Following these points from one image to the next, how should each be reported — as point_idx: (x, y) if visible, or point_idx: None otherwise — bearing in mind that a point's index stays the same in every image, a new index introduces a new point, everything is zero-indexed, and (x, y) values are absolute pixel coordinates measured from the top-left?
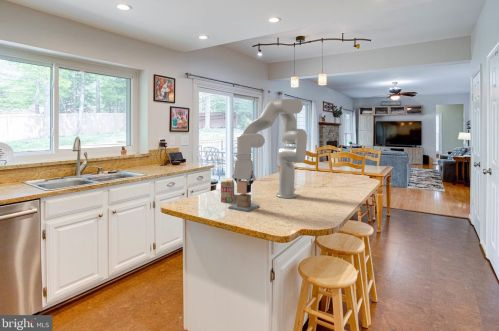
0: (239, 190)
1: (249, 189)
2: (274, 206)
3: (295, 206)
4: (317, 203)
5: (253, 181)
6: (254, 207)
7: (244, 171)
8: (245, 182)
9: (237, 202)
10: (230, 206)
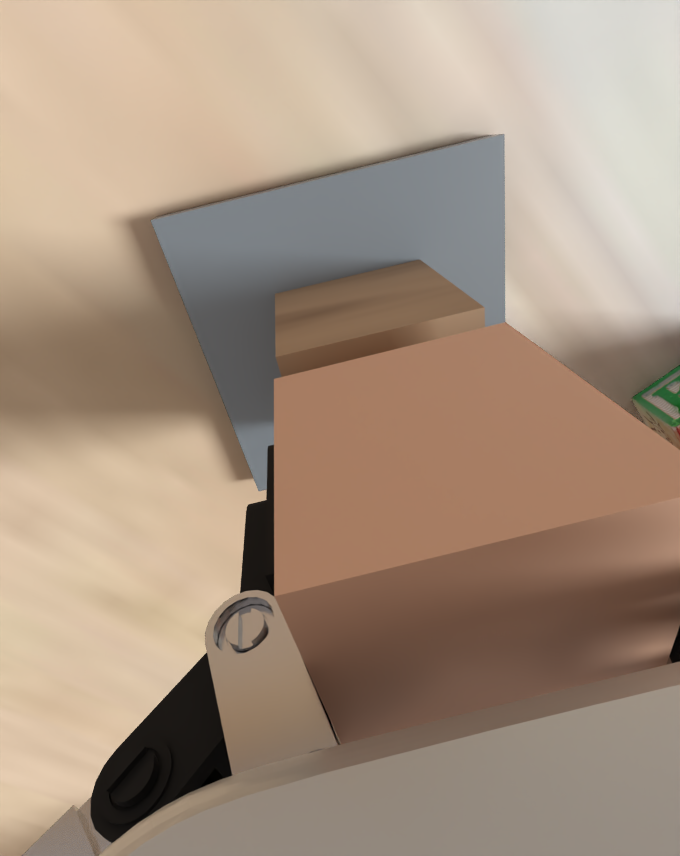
0: (457, 365)
1: (248, 519)
2: (177, 582)
3: (70, 682)
4: (63, 792)
5: (86, 805)
6: (223, 399)
7: None
8: (325, 617)
9: (425, 275)
10: (483, 172)
